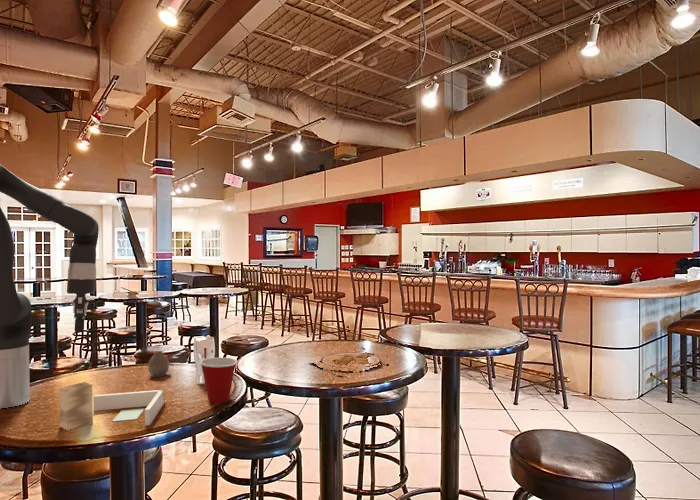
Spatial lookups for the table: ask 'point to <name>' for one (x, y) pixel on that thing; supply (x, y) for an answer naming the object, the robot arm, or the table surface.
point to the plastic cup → (218, 378)
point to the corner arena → (131, 404)
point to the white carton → (202, 355)
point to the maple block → (76, 405)
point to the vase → (158, 364)
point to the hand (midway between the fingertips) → (79, 330)
